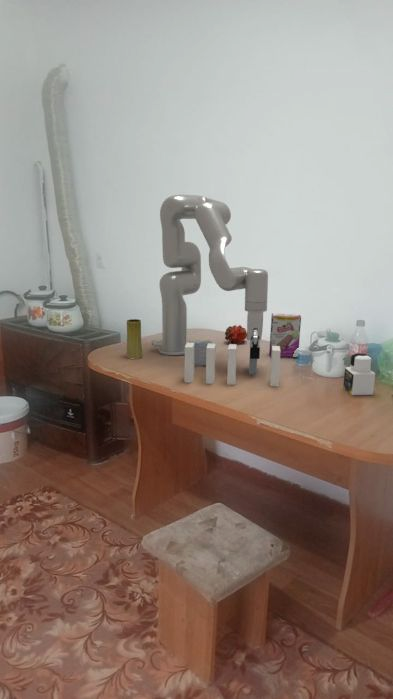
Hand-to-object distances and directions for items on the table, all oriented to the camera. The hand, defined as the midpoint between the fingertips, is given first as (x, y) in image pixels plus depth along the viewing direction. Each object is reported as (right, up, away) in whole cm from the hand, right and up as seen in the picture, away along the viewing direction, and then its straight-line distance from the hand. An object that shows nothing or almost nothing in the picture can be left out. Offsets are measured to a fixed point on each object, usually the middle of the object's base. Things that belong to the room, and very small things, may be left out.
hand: (254, 354), depth 180 cm
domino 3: (-9, -9, -9) cm, 15 cm away
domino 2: (-16, -8, -8) cm, 20 cm away
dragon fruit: (-3, +5, +41) cm, 42 cm away
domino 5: (+5, -9, -10) cm, 15 cm away
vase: (-44, -1, +18) cm, 47 cm away
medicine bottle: (+31, -12, -17) cm, 37 cm away
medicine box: (-19, -4, +10) cm, 21 cm away
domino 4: (-1, -6, +2) cm, 6 cm away
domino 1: (-23, -8, -8) cm, 25 cm away
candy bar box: (+14, -1, +22) cm, 26 cm away
